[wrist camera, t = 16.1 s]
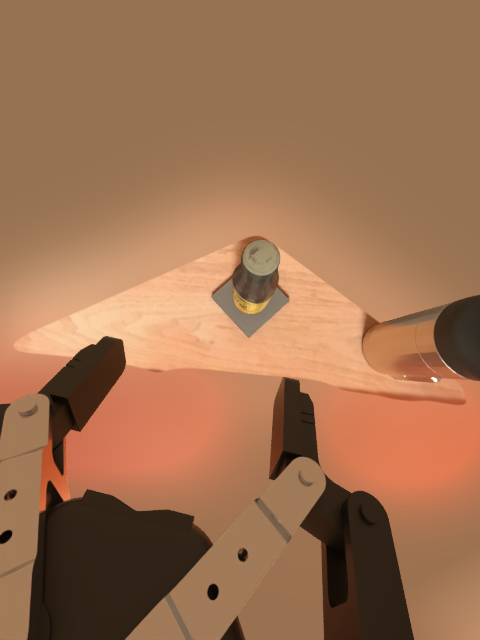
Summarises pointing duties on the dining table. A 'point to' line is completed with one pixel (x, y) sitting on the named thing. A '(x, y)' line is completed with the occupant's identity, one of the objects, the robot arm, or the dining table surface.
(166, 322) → the dining table surface
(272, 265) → the sauce bottle
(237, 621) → the robot arm
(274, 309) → the rubber mat
